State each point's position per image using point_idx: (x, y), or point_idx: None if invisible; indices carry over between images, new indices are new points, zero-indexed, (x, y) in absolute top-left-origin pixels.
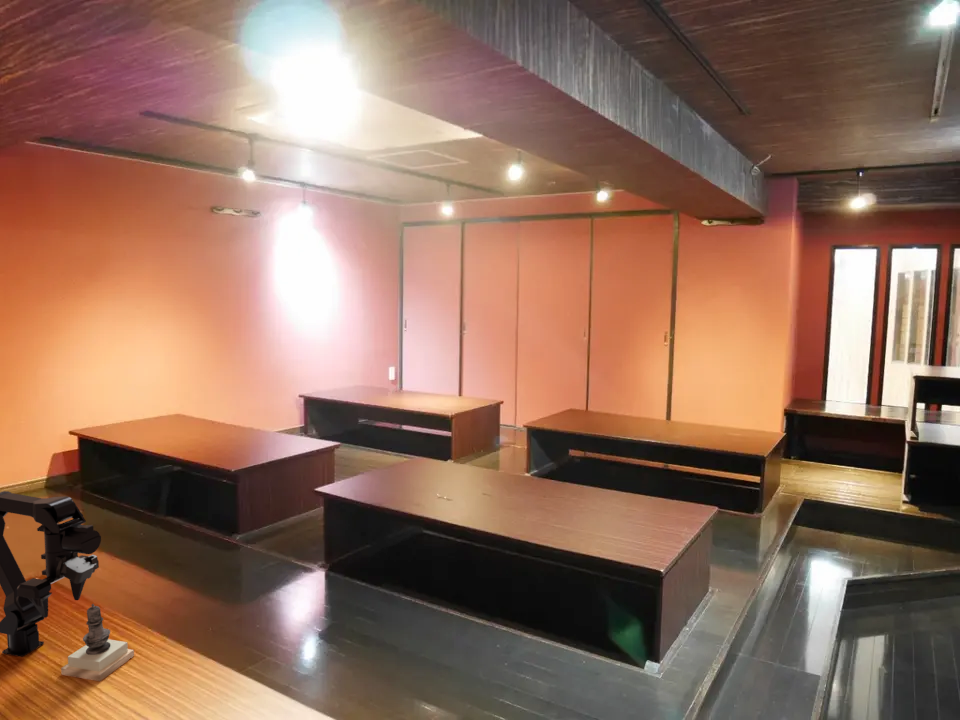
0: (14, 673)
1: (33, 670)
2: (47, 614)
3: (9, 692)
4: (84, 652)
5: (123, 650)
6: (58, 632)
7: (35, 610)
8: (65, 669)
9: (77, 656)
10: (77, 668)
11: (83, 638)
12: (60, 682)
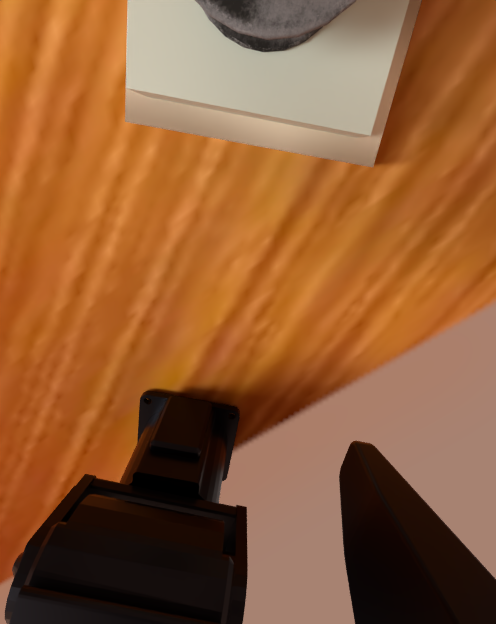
0: (346, 367)
1: (326, 313)
2: (374, 462)
3: (487, 302)
4: (321, 41)
5: None
6: (59, 390)
7: (139, 563)
8: (381, 135)
9: (371, 61)
10: None
11: (337, 7)
12: (438, 119)
